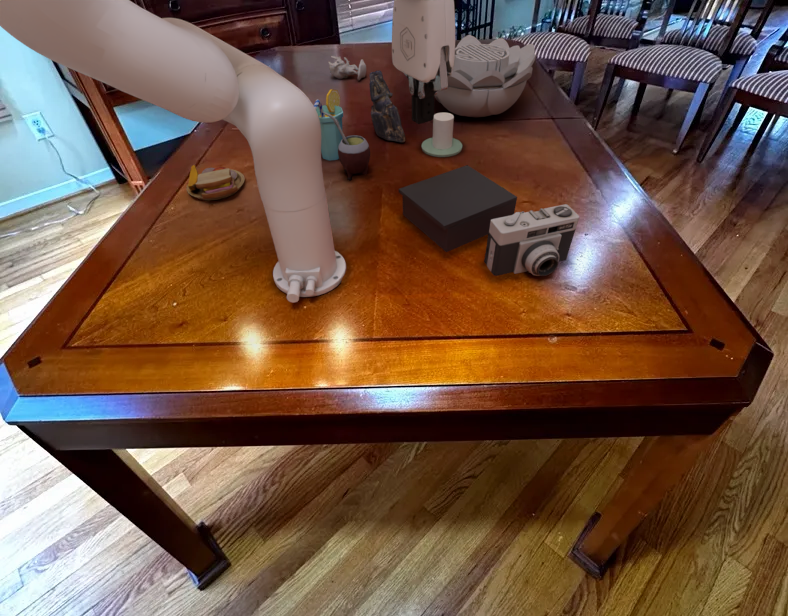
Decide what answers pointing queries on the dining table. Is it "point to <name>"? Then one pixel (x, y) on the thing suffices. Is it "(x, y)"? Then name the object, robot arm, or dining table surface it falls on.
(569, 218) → the camera
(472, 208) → the box lid
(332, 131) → the cup
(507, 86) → the decorative bowl
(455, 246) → the hinged lid box
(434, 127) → the white cylinder
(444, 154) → the saucer
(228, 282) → the dining table surface
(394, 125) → the statue
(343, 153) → the mate gourd
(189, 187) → the toy sandwich meal
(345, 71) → the figurine
